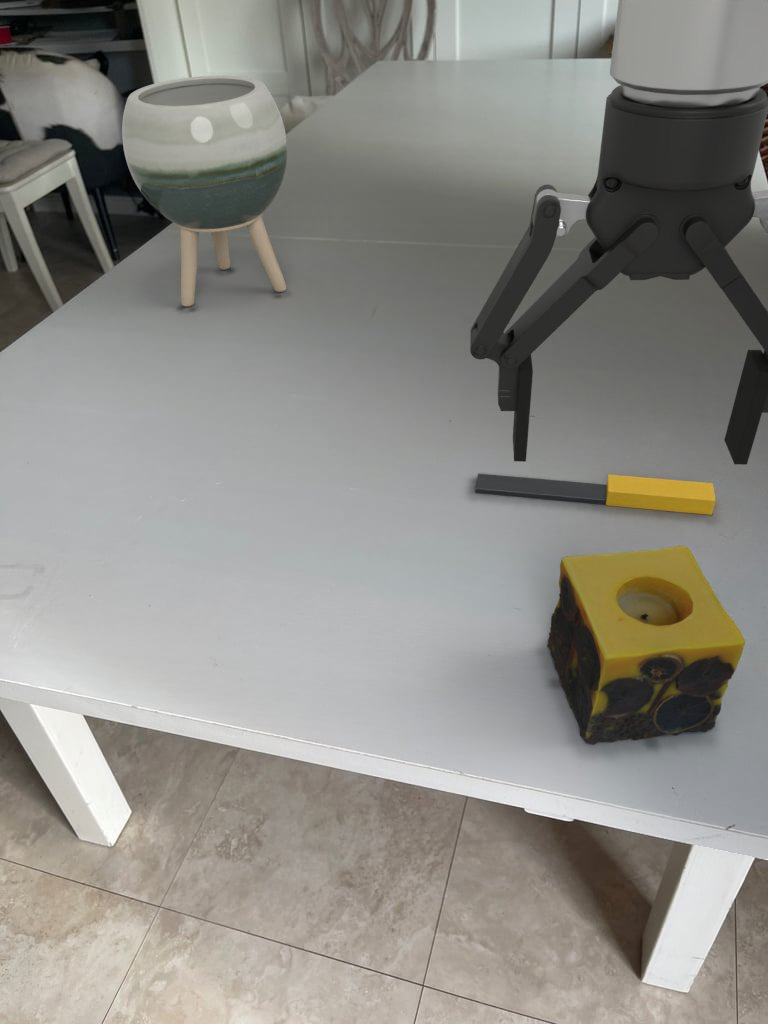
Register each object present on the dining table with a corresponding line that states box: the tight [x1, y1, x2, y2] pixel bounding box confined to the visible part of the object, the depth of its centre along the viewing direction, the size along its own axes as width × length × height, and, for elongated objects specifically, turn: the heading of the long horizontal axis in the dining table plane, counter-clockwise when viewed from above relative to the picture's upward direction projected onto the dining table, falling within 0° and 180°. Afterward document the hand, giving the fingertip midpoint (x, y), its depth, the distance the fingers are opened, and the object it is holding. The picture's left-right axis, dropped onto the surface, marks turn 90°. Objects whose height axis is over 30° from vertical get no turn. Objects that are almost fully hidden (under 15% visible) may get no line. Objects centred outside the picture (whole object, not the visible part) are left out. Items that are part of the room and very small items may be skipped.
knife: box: [474, 473, 717, 516], centre depth 81 cm, size 23×3×2 cm, turn 78°
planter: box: [121, 75, 288, 308], centre depth 116 cm, size 22×22×28 cm
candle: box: [546, 545, 746, 746], centre depth 60 cm, size 10×10×10 cm
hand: (625, 451), depth 52 cm, fingers open, 13 cm apart
